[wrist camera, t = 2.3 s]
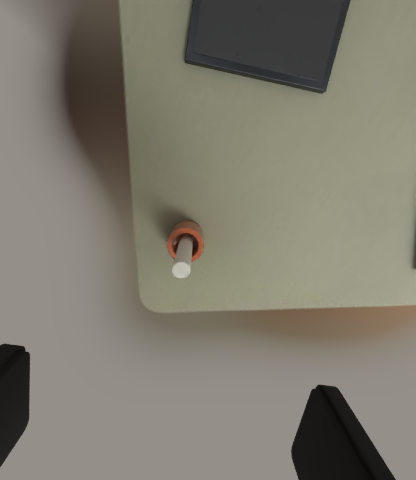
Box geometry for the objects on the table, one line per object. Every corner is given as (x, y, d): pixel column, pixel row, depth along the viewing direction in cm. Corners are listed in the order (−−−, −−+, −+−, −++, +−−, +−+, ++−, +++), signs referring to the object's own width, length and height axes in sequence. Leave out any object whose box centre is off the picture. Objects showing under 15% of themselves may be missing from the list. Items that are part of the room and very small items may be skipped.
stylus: (179, 241, 30) (170, 277, 20) (181, 230, 29) (173, 260, 20) (192, 243, 30) (188, 280, 20) (194, 232, 29) (191, 263, 20)
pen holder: (169, 248, 30) (164, 260, 26) (173, 217, 29) (170, 225, 26) (199, 253, 31) (200, 265, 27) (205, 223, 30) (206, 231, 26)
